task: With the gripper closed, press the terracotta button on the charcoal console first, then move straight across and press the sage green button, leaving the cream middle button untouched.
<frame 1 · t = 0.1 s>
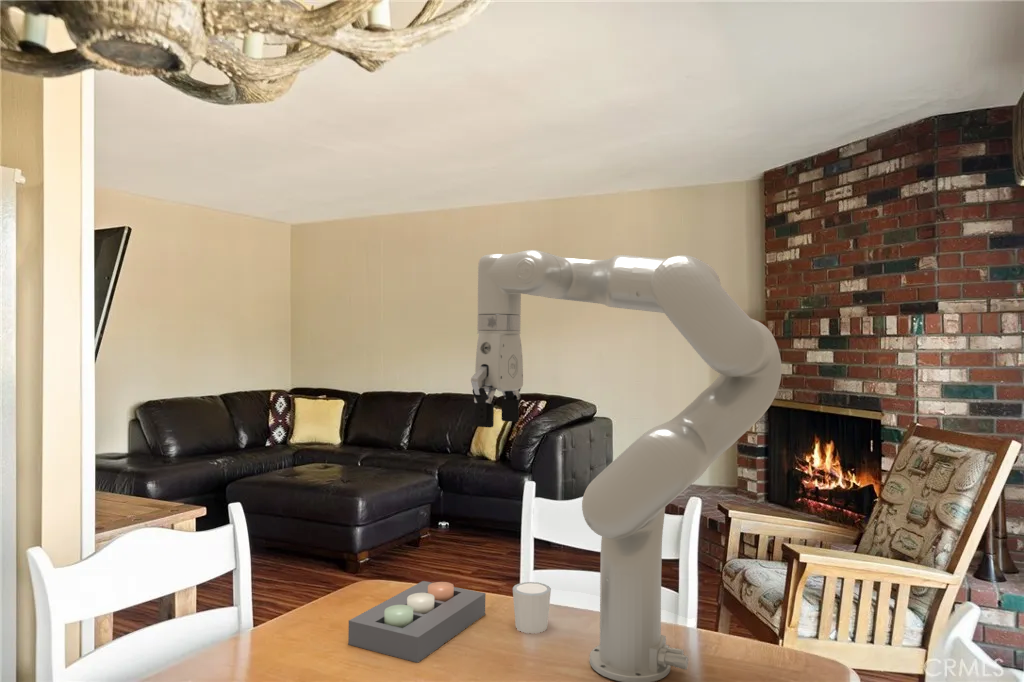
hand: (497, 423, 119), 37 cm above the table, tool pointing down, fingers open, 9 cm apart
sage button: (398, 619, 116), point 4 cm above the table, slide at 0.0 cm
console: (420, 628, 121), on the table
terracotta button: (440, 594, 127), point 4 cm above the table, slide at 0.0 cm
cream button: (420, 606, 121), point 4 cm above the table, slide at 0.0 cm
light grey cup: (531, 628, 123), on the table
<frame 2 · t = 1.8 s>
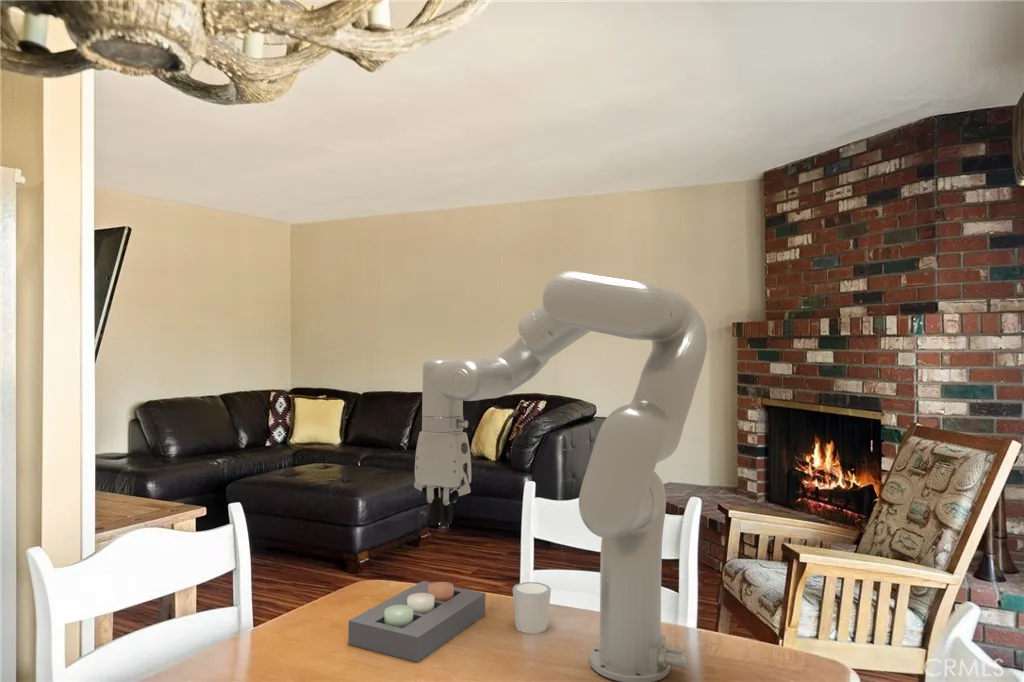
hand: (441, 523, 127), 17 cm above the table, tool pointing down, fingers closed
nothing on the table moved.
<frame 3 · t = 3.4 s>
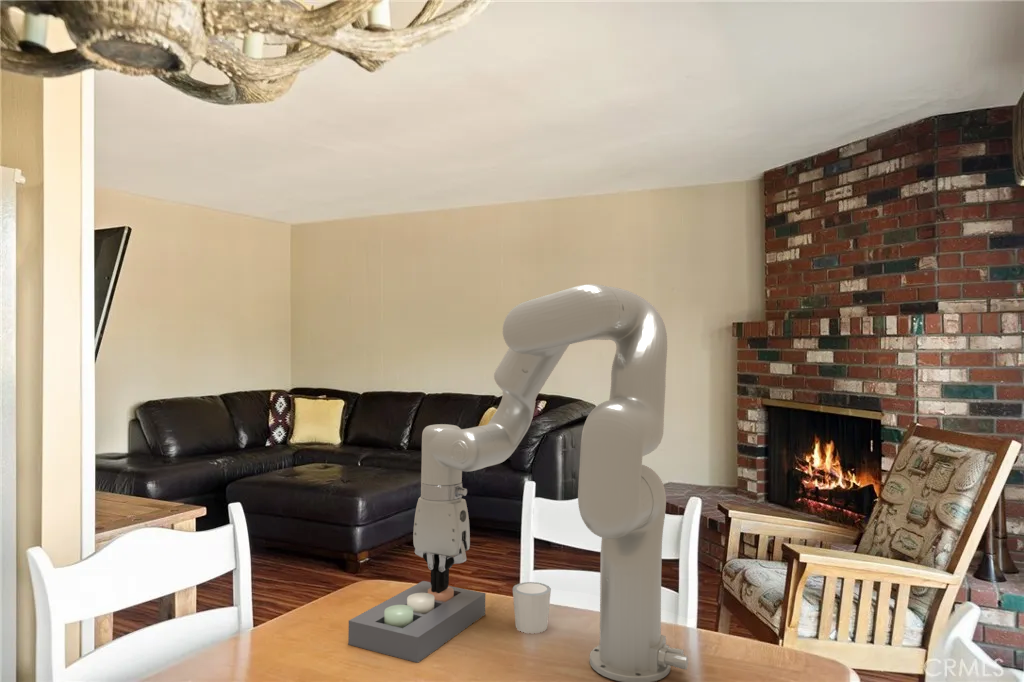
hand: (439, 590, 127), 5 cm above the table, tool pointing down, fingers closed
terracotta button: (440, 598, 127), point 3 cm above the table, slide at 0.8 cm, touching gripper
everything else where it was.
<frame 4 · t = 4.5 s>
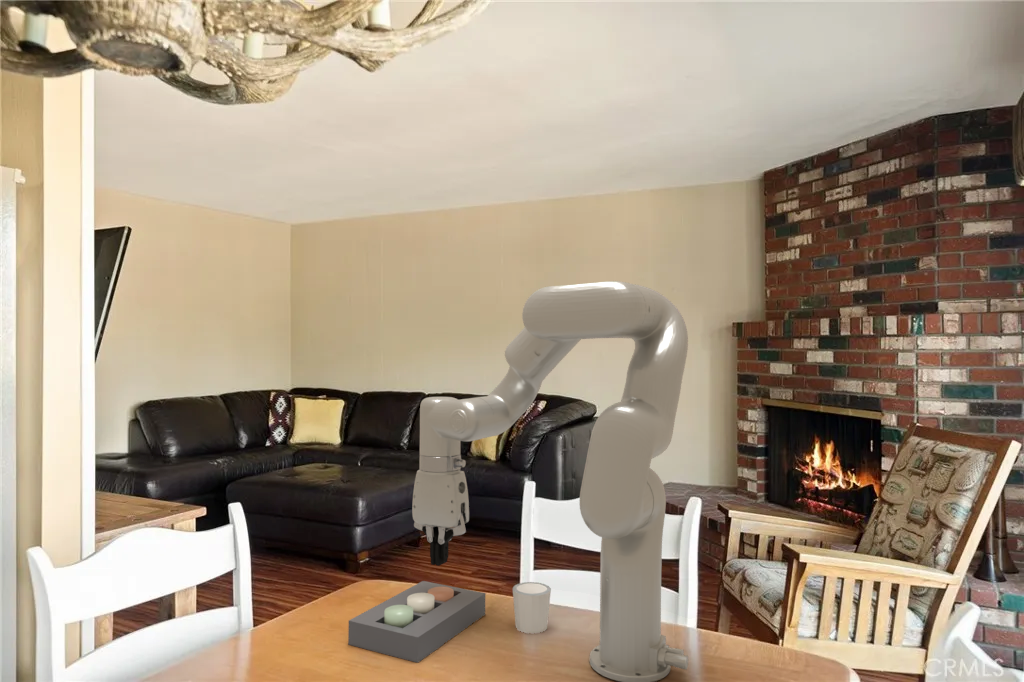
hand: (439, 563, 127), 10 cm above the table, tool pointing down, fingers closed
terracotta button: (440, 599, 127), point 3 cm above the table, slide at 0.9 cm
everything else where it was.
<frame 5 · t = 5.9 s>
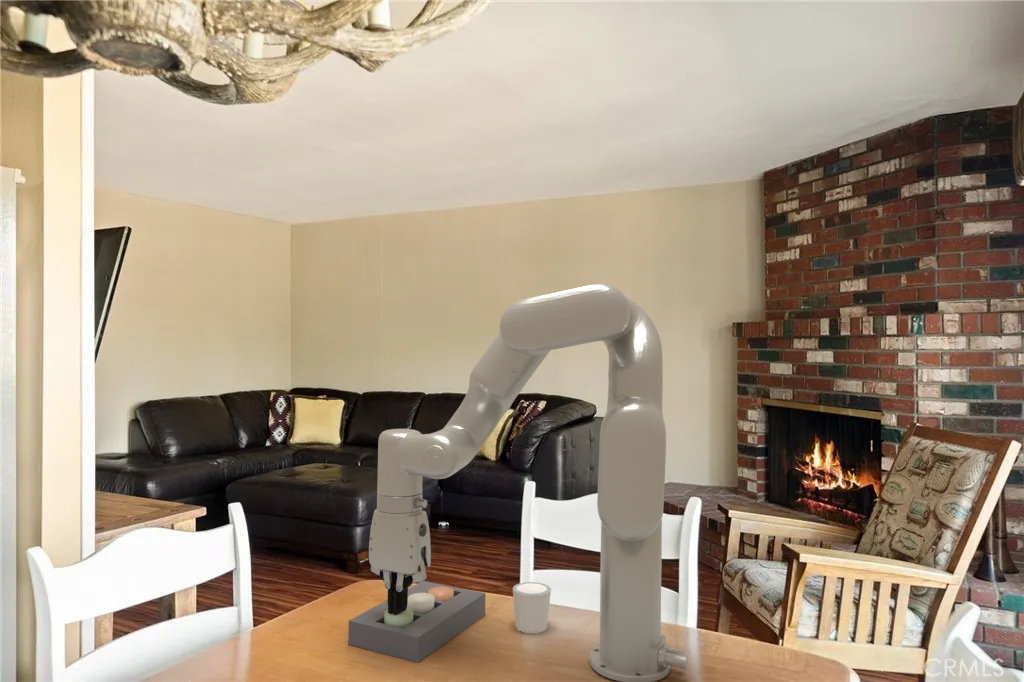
hand: (397, 611, 116), 5 cm above the table, tool pointing down, fingers closed
sage button: (398, 620, 116), point 4 cm above the table, slide at 0.3 cm, touching gripper
everything else where it was.
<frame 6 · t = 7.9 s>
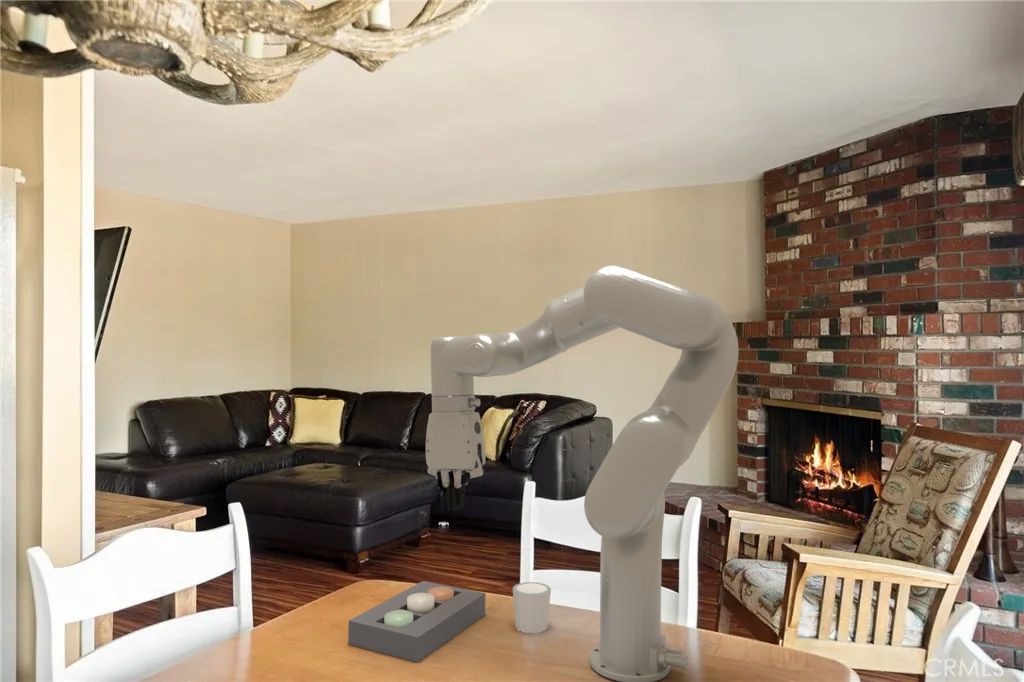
hand: (455, 508, 122), 21 cm above the table, tool pointing down, fingers closed
sage button: (398, 624, 116), point 3 cm above the table, slide at 0.9 cm
everything else where it was.
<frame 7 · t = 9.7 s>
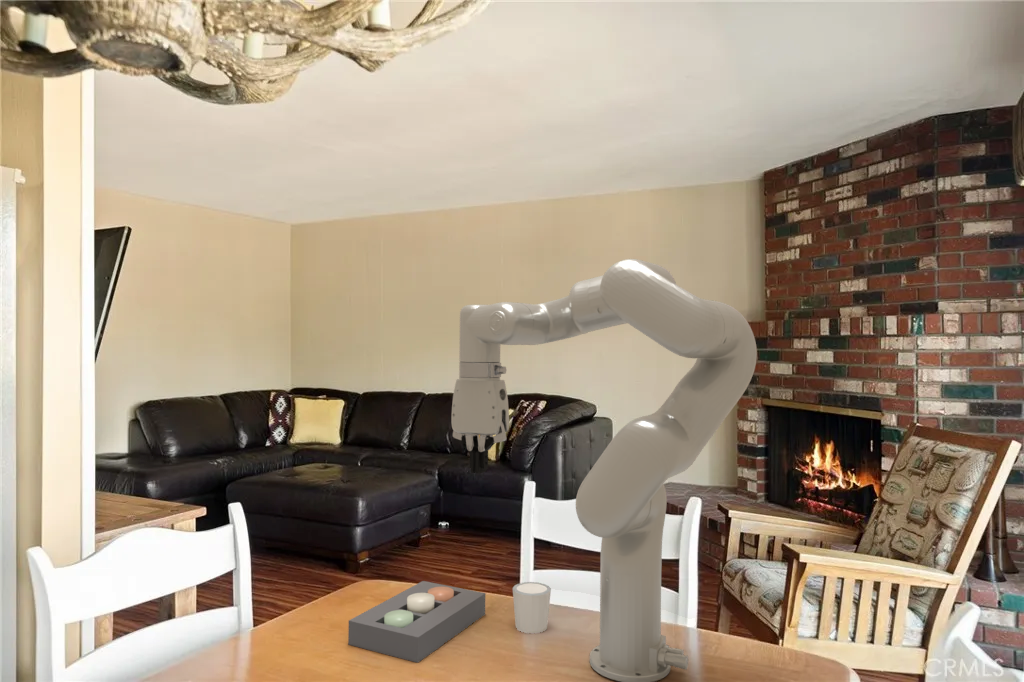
hand: (478, 472, 126), 27 cm above the table, tool pointing down, fingers closed
nothing on the table moved.
at the end: terracotta button slide at 0.9 cm; sage button slide at 0.9 cm; cream button slide at 0.0 cm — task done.
